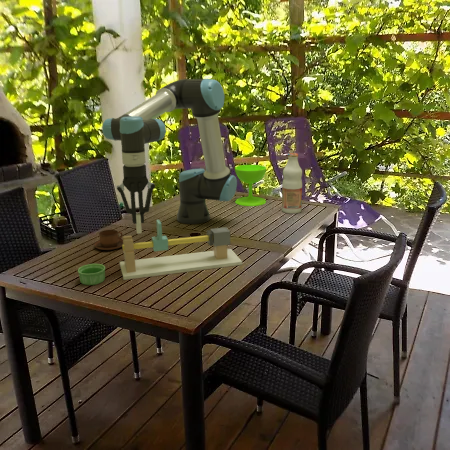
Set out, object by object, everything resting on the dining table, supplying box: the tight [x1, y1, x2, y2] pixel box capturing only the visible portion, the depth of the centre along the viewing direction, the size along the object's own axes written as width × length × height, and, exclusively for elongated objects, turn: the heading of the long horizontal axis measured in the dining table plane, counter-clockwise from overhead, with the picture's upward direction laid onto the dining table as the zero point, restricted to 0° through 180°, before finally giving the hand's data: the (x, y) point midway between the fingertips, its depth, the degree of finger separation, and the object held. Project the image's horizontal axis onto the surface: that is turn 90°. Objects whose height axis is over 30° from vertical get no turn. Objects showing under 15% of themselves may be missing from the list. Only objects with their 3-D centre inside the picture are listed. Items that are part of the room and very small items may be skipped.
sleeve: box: [151, 219, 169, 252], centre depth 177 cm, size 5×5×10 cm
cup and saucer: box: [93, 229, 124, 251], centre depth 201 cm, size 12×12×6 cm
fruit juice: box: [281, 152, 303, 215], centre depth 242 cm, size 9×9×28 cm
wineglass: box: [234, 164, 267, 207], centre depth 261 cm, size 16×16×18 cm
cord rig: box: [119, 226, 243, 281], centre depth 181 cm, size 14×42×12 cm, turn 106°
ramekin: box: [77, 263, 106, 286], centre depth 170 cm, size 9×9×4 cm
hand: (139, 232), depth 175 cm, fingers closed
